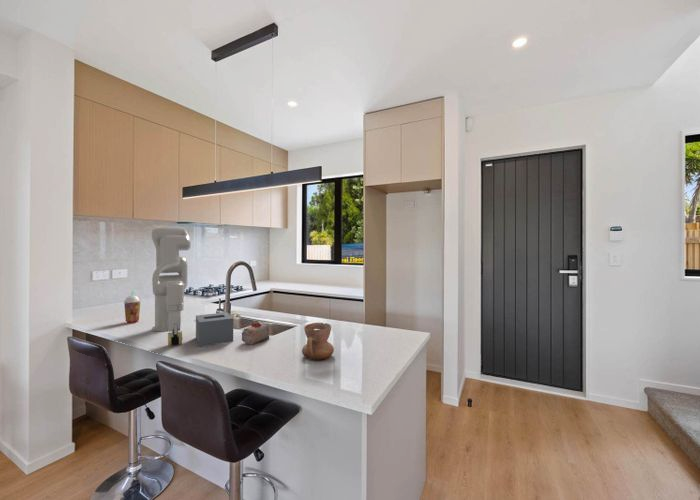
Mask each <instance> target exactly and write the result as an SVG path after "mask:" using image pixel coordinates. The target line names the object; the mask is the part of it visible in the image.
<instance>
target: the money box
mask: <svg viewBox="0 0 700 500" xmlns="http://www.w3.org/2000/svg"><path fill="white" fill-rule="evenodd" d="M195 339H196V341H197V344H198V347H204V346H210V345H217V344H218V345H219V344H223V343H231V342H234V317H233V316H232V315H231V314H230V313H229V312H218V313H216V312H215V313H209V314H198V315H195Z"/></svg>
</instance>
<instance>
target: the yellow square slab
mask: <svg viewBox="0 0 700 500" xmlns="http://www.w3.org/2000/svg"><path fill="white" fill-rule="evenodd" d="M178 336H179V344H178V345H177V346H179V345H182V344H183V331H181V330H180V331H178ZM171 337H172V332H168V333H167V346H168V347H170V346H171V347H172V346H174V345H171Z"/></svg>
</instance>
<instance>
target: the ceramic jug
mask: <svg viewBox="0 0 700 500" xmlns="http://www.w3.org/2000/svg"><path fill="white" fill-rule="evenodd" d="M303 329H304V334H305V336H306V339H307V340H306V344H304V345H303V346H302V349H301V354H302V355H303V356H304V358H307V359H310V360H314V361H315V360H316V361H317V360H318V361H319V360H325V359H327V358H330V357H331V356H332V355H333V354H334V351H335V349H334V348H335V347H334V346H333V344H332V343H331V342H329V341H328V340H329V338H330V336H331V331H332V325H331V324H329V323H327V322H313V323H312V322H311V323H307V324H306V325H304V327H303Z"/></svg>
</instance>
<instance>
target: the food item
mask: <svg viewBox="0 0 700 500" xmlns="http://www.w3.org/2000/svg"><path fill="white" fill-rule="evenodd" d="M250 325H251V326H249V327H246V328H243V330H242V332H241V341H242V342H244V343H245V344H247V345H251V346H253V345H255V344H257V343H260V342H263V341H266V340H268V339H270V327H269V326H270V325H269V324H267V323H265V322H261V323H260V322H252V323H251V324H250Z"/></svg>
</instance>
